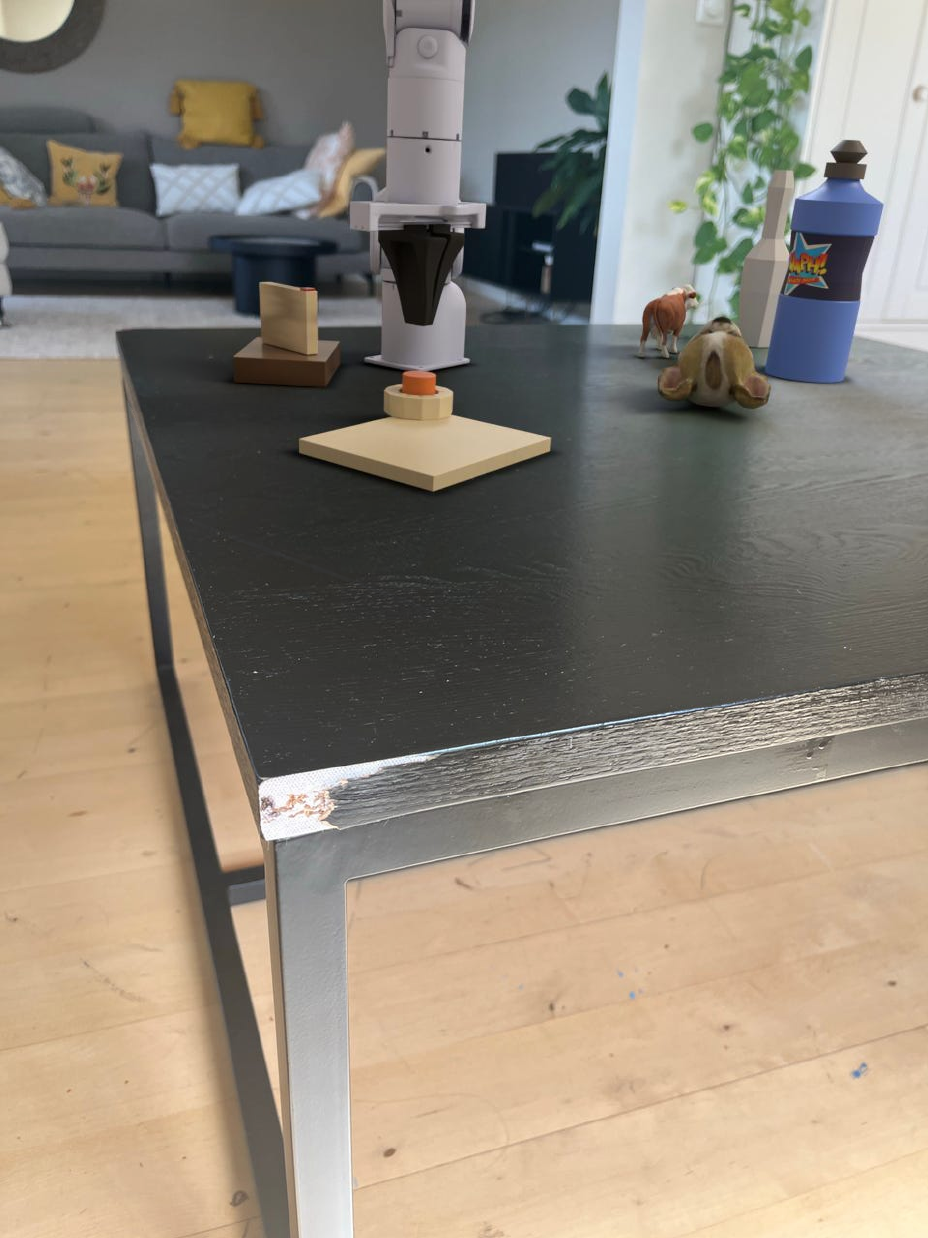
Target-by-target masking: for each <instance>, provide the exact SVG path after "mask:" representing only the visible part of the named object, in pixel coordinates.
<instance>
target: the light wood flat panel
mask: <svg viewBox="0 0 928 1238" xmlns="http://www.w3.org/2000/svg"><path fill="white" fill-rule="evenodd" d="M258 284H259V285H258V288H259V309H260V311H259V313H260V334H261V335H260V337H261V339H262V343H266V344H269V345H273V346H277V347H280V348H284V349H288V350H291V351H295V352H299V353H302V354H306V355H310V354H318V340H319V318H318V316H319V313H318V312H319V309H318V306H319V305H318V291H317V290H316V288H315V287H309V286H307V287H299V286H292V285H288V284H284V283H278V282H273V281H260V282H259V283H258Z"/></svg>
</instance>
